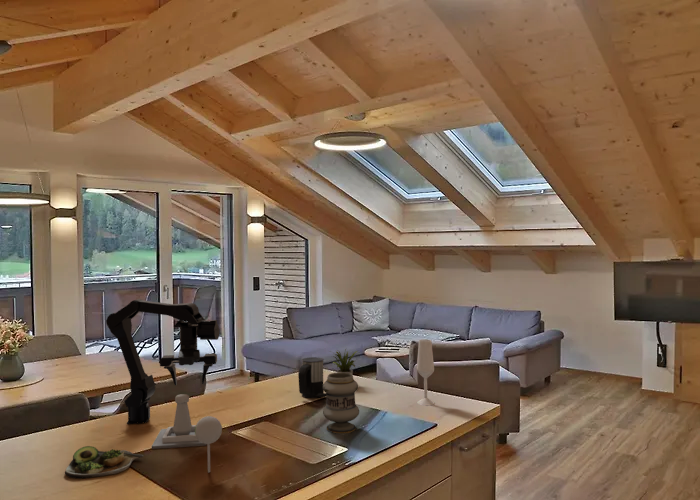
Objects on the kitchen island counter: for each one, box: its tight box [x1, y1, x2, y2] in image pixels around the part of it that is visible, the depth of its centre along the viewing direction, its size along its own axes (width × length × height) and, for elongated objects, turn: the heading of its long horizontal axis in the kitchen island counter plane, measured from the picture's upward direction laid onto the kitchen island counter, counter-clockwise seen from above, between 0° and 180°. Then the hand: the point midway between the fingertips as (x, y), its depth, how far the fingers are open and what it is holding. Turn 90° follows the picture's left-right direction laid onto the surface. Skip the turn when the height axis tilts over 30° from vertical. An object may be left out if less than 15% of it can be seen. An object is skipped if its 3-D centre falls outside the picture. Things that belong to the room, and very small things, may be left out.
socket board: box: [151, 424, 207, 450], centre depth 179 cm, size 16×16×2 cm
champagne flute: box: [416, 338, 435, 406], centre depth 215 cm, size 7×7×24 cm
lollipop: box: [195, 415, 223, 473], centre depth 152 cm, size 7×7×15 cm
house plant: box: [329, 348, 358, 375], centre depth 244 cm, size 14×14×16 cm
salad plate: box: [64, 445, 144, 479], centre depth 158 cm, size 19×18×5 cm
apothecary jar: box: [322, 371, 360, 434], centre depth 186 cm, size 12×12×18 cm
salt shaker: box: [172, 393, 193, 436], centre depth 179 cm, size 6×6×13 cm
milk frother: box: [297, 356, 326, 399], centre depth 225 cm, size 14×16×15 cm
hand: (189, 384), depth 195 cm, fingers open, 9 cm apart
